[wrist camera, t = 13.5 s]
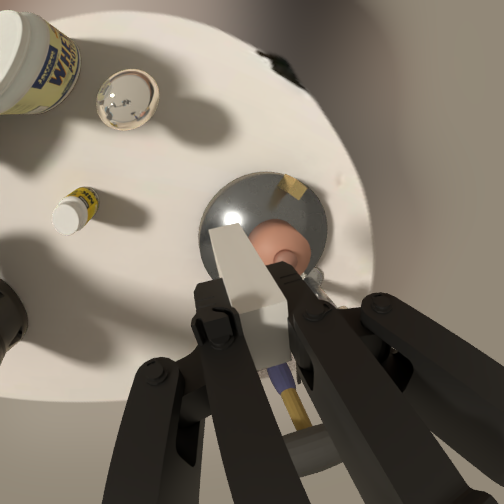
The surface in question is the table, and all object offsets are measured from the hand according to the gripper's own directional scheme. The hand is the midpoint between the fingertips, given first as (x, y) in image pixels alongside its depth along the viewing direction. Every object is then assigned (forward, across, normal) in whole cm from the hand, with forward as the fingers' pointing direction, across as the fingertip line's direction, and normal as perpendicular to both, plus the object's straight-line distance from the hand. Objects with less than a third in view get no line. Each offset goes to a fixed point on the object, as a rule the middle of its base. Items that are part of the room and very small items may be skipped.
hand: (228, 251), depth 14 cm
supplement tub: (+27, -19, +21) cm, 39 cm away
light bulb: (+27, -6, +11) cm, 29 cm away
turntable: (+26, +8, -12) cm, 30 cm away
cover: (+24, +9, -13) cm, 28 cm away
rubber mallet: (+27, +6, -33) cm, 43 cm away
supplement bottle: (+27, -17, 0) cm, 32 cm away
